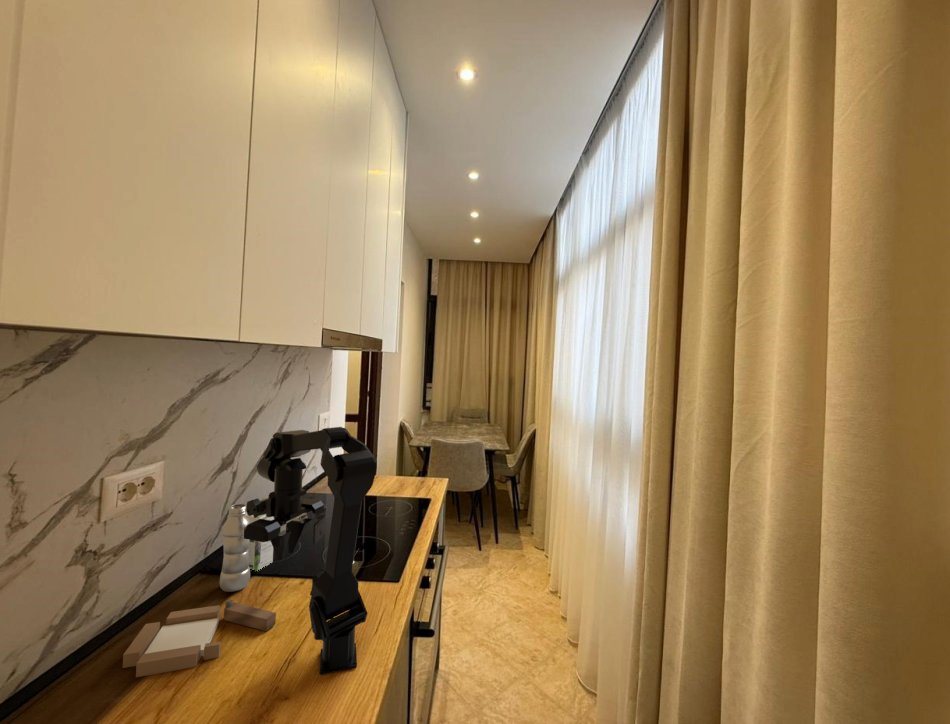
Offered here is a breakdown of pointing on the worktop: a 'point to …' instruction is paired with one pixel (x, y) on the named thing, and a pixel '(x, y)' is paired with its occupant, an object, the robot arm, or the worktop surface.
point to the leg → (249, 616)
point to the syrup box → (259, 549)
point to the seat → (175, 642)
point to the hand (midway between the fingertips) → (285, 556)
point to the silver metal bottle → (235, 550)
